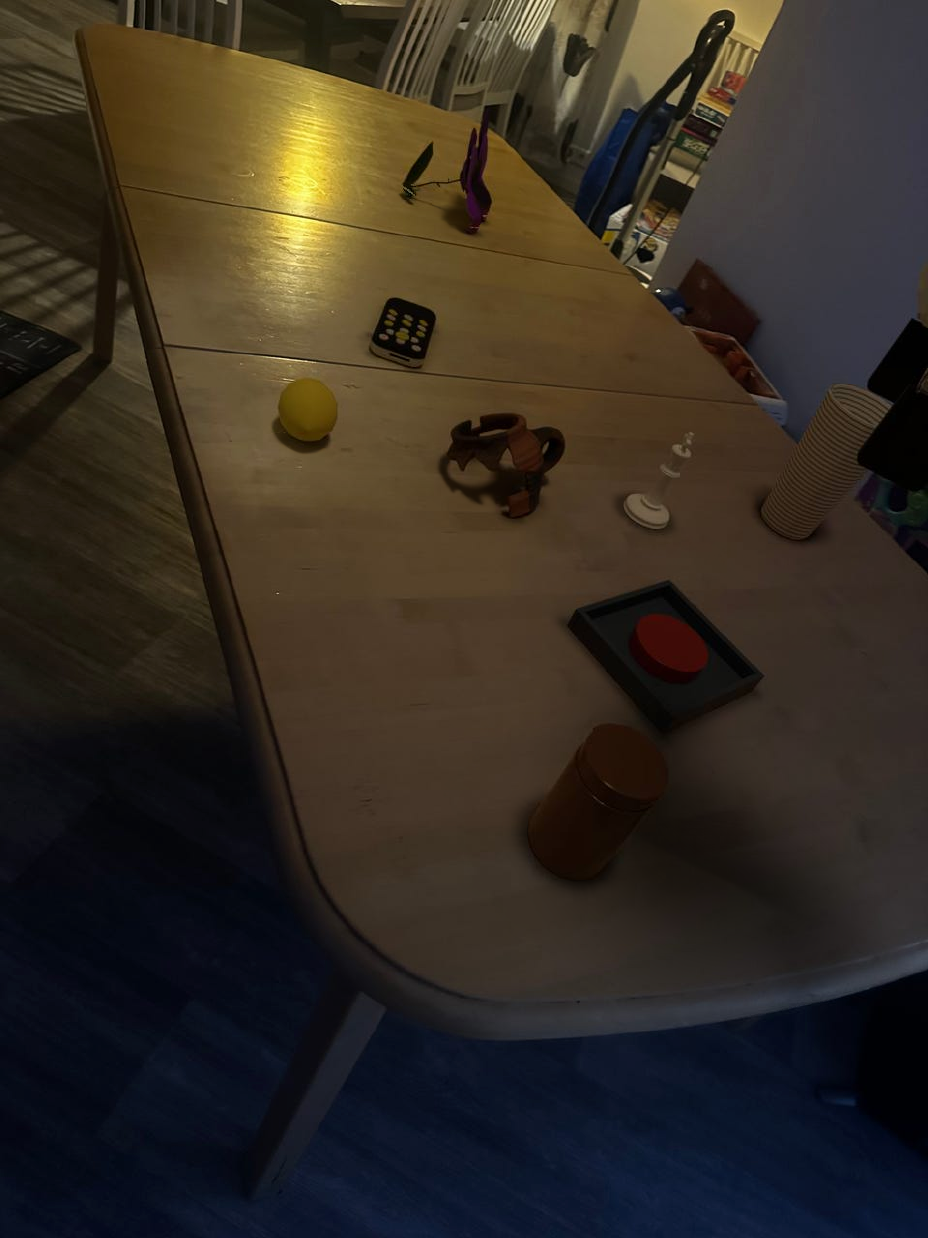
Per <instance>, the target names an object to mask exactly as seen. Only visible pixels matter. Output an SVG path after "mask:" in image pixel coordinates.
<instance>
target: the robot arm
mask: <svg viewBox="0 0 928 1238" xmlns="http://www.w3.org/2000/svg"><path fill="white" fill-rule="evenodd" d="M917 283H918V284H917V285H918V287H917V306H918V308H917V309H918V312H917V315H916V319H915V318H913V317H911V318H910V320H909V321H908V322H907V324H906V325H905V327H903V329H902V331H901V332H900V333H899V336H898V337H897V338H896V340H894V342H893V344H892V345H891V347H890V348H889V350H888V351H887V352H886V353H885V355H884V357H883V358H882V359H881V360H880V362H879V363H878V364H877V366H876V367H875V369H874V370H873V372H872V373H871V374H870V376H869V378H868V379H867V384H866V387H867V390H868V391H870V392H872V393H873V394H875V395H877V396H879V397H881V398H882V399H884V400H886V401H889V402H891V403H893V404H891V405H892V407H891V408H890V409H889V411H888V412H887V413H886V415H885V416H884V417H883V419H882V420H881V422H880V423H879V424H878V426H877V427H876V428H875V430H874V431H873V432H872V434H871V435H870V436H869V438H868V439H867V440H866V442H865V443H864V444H863V446H862V447H861V448H860V450H859V451H858V455H857V462H858V464H859V465H861V466H862V467H864V468H866V469H868V471H870V472H872V473H874V474H876V475H878V476H880V477H881V478H884V479H886V480H888V481H890V482H892V483H893V484H896V485H897V486H900V487H901V488H903V489H906V490H907V491H909V492H913V493H917V492H920V491H922V490H923V489H924V488H925V487H926V486H927V484H928V259H926V260H925V262H924V264H923V266H922V267H921V269H920V272H919V276H918V282H917Z"/></svg>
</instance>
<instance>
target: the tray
mask: <svg viewBox="0 0 928 1238" xmlns="http://www.w3.org/2000/svg"><path fill="white" fill-rule="evenodd" d="M650 614H662V615H667V616H670V617H673V618H675V619H678V620H680V621H681V622H683V623H685V624H686V625H688V626H689V627H690V628H692V629H693V630H694V631H695V632H696V633H697V634H698V635H699V636H700V638H701V639H702V640H703V642H704V644H705V646H706V648H707V651H708V661H707V664H706V665H705V667H704V668H703V669H702V671H701V672H700V673H699V675H698V676H697V677H696V678H695V679H694V680H693V681H691V682H689V683H686V684H673V683H668V682H665V681H662V680H660V679H658V678H656V677H654V676H653V675H651V674H649V673H648V672H647V671H645V670H644V669H643V668H642V667H641V666H640V665H639V664H638V663H637V661H636V660H635V659H634V657H633V655H632V654H631V651H630V648H629V637H630V634H631V633H632V631H633V630H634V628H635V626H636V625H637V623H638V622H639V620H640V619H641V618H643V617H644V616H647V615H650ZM566 625H567V627H568V628H569V629H570V630H571V631H572V632H573V634H574V635H575V636H576V637H577V639H579V640H580V641H581V643H582V644H583V645H584V646H585V648H587V649H588V651H589V652H590V653H591V654H592V655H593V657H595V659H596V660H597V661H598V663H600V664H601V665H602V667H603V668H604V669H605V670H606V671H607V672H608V673H609V674H610V676H612V678H613V679H614V680H615V682H616V683H618V685H619V686H620V687H621V688H622V689H623V690H624V692H626V694H627V696H629V697H630V698H631V700H632V701H633V702H634V703H635V704H636V705H637V707H638V708H639V709H640V710H641V711H642V712H643V713H644V714H645V715H646V717H647V718H648V719H649V720H650V722H651V723H653V725H654V726H655V727H656V728H657V729H658V730H659V732H660V733H661V734H664V733H666V732H668V731H670V730H673V729H674V728H676V727H679V726H681V725H683V724H685V723H687V722H689V721H691V720H693V719H696V718H699V717H700V716H702V715H704V714H707V713H708V712H711V711H713V710H714V709H716V708H719V707H720V706H723V705H725V704H727V703H729V702H732V701H733V700H735V699H737V698H740V697H742V696H744V695H746V694H748V693H750V692H753V691H754V689H755V688H756V687H757V686H758V684H760V682H761V681H762V680H763V679H764V677H765V675H764V673H762V671H760V670H759V669H758V668H757V666H755V664H753V663H752V662H751V660H749V658H748V657H746V656H745V654H743V653H742V651H740V650H739V648H738V647H736V646H735V645H734V643H733V642H732V641H731V640H730V639H729V638H727V636H726V635H725V634H723V632H722V631H721V630H720V629H719V628H718V627H717V626H716V625H715V624H714V623H713V622H712V621H711V620H710V619H709V618H708V617H707V616H706V615H705V614H704V613H703V612H702V611H701V610H700V609H699V608H698V607H697V606H696V605H695V604H694V603H693V602H692V601H691V600H690V599H689V598H688V597H687V596H686V595H685V594H684V593H683V592H682V591H681V589H680V588H678V587H677V586H676V585H675V584H674V583H673V582H672V581H671V580H670V579H666V580H664V581H660V582H657V583H654V584H651V585H648V586H644V587H641V588H639V589H635V590H632V591H629V592H625V593H623V594H619V595H615V596H612V597H609V598H607V599H604V600H600V601H596V602H593V603H591V604H587V605H584V606H581V607H578V608H576V609H575V610H574V612H573V613H572V615H571V617H570V619H569V621H568V623H567V624H566Z"/></svg>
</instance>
